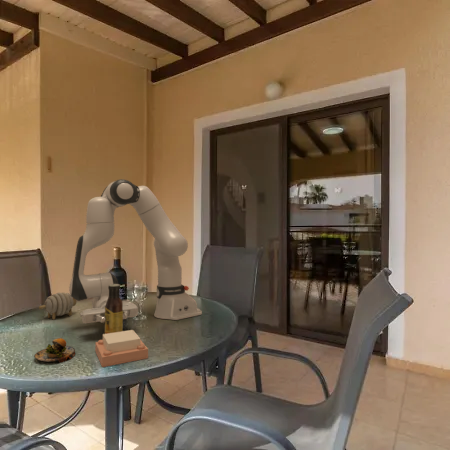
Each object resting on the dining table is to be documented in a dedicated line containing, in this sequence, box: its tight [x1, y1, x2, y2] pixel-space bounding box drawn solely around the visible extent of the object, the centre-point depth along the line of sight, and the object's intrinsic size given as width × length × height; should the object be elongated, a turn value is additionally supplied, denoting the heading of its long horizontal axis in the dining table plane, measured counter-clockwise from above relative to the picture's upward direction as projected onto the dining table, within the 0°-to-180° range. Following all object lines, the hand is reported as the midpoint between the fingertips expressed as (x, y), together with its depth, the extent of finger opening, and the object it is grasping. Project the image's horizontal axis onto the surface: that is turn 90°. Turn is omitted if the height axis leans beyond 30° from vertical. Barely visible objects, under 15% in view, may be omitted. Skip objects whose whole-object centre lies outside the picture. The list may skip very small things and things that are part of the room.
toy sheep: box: [38, 292, 77, 320], centre depth 150 cm, size 11×17×11 cm, turn 149°
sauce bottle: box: [104, 283, 124, 334], centre depth 120 cm, size 6×6×20 cm
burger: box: [33, 332, 76, 364], centre depth 106 cm, size 12×12×8 cm
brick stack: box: [94, 329, 149, 368], centre depth 108 cm, size 14×14×6 cm
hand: (114, 318), depth 119 cm, fingers closed on sauce bottle, 6 cm apart
